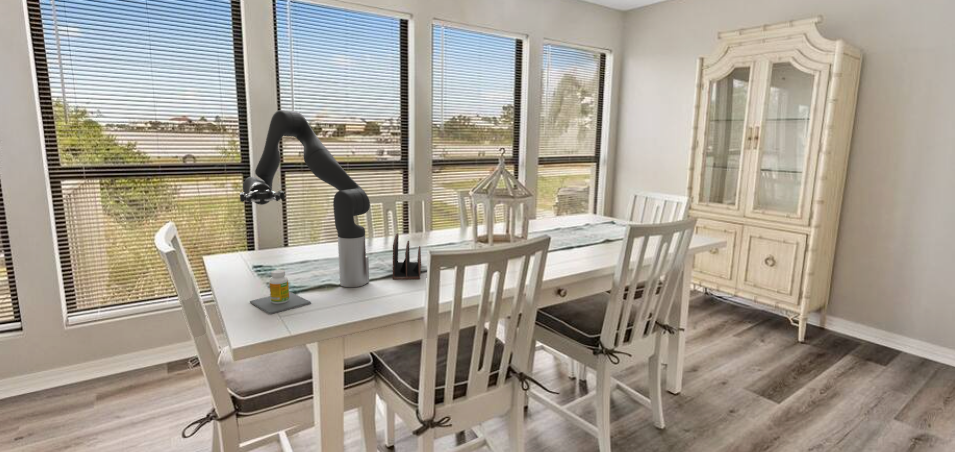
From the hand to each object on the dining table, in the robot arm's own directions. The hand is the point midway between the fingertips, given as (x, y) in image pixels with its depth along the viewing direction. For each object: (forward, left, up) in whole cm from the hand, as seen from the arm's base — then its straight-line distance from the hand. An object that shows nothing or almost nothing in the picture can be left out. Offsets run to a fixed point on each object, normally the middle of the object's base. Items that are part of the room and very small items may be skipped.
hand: (263, 198), depth 170 cm
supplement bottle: (+6, +21, -30) cm, 37 cm away
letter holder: (-44, +22, -30) cm, 57 cm away
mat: (+6, +21, -30) cm, 37 cm away
